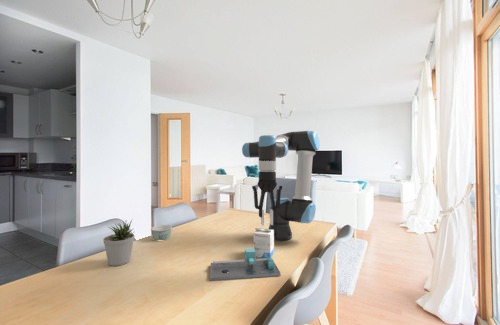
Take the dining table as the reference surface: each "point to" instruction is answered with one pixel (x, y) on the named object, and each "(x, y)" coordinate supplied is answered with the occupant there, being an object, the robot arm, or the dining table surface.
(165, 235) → the food container
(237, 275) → the bolt plate
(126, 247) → the potted plant
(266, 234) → the ink box
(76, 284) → the dining table surface
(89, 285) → the dining table surface
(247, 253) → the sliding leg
